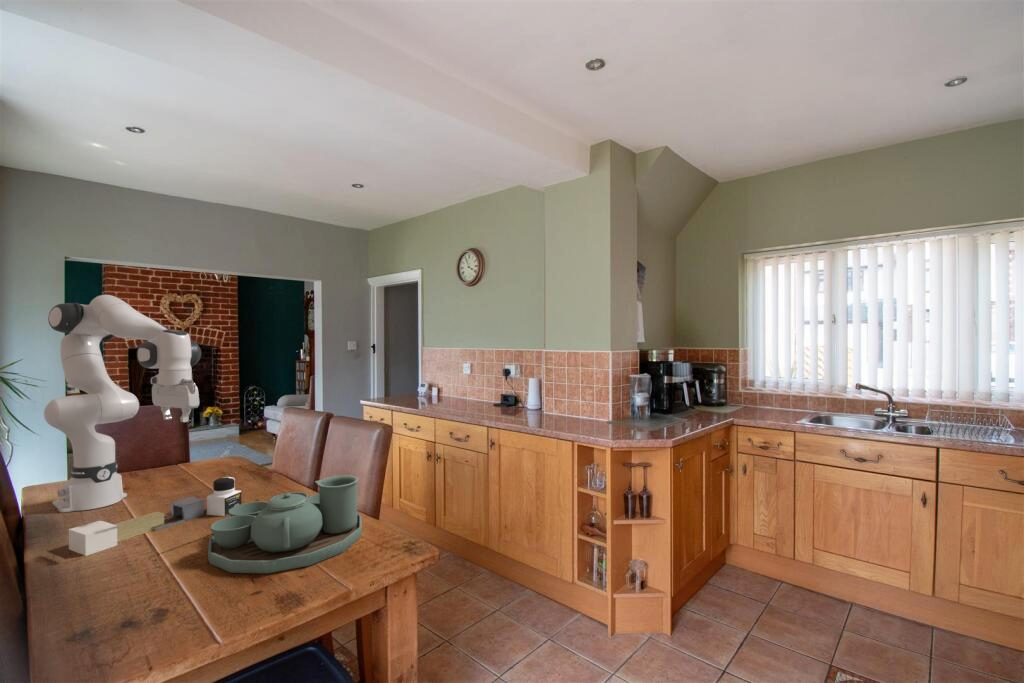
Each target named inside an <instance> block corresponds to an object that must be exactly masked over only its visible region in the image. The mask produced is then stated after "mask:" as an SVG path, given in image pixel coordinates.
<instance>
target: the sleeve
mask: <svg viewBox="0 0 1024 683" xmlns="http://www.w3.org/2000/svg"><path fill="white" fill-rule="evenodd" d="M203 516H205V499H203V498H199V497H196V496H188V497H185V498H181V499H179V500H174V501H171V515H170V516H167V517H164V525H162V526H159V527H156V528H154V530H153V532H157V531H161V530H164V529H167V528H171V527H173V526H176V525H178V524H183V523H185V522H188V521H191V520H195V519H196V518H199V517H200V518H201V517H203ZM177 518H182V519H178V520H175V521H171V520H174V519H177ZM169 521H171V522H169ZM165 522H169V523H165Z"/></svg>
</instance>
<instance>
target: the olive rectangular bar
mask: <svg viewBox="0 0 1024 683" xmlns="http://www.w3.org/2000/svg"><path fill="white" fill-rule="evenodd" d="M164 518H165V513H164V512H160V511H153V512H151V513H147V514H144V515H140V516H136V517H133V518H129V519H125V520H124V521H120V522H116V523H113V524H114V525H117V543H118V542H121V541H122V542H123V541H124V540H127V539H131V538H133V537H134V538H135V537H137V536H140V535H143V534H146V533H149V532H152V531H154V528H156V527H159V526H162V525H165V522H164Z"/></svg>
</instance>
